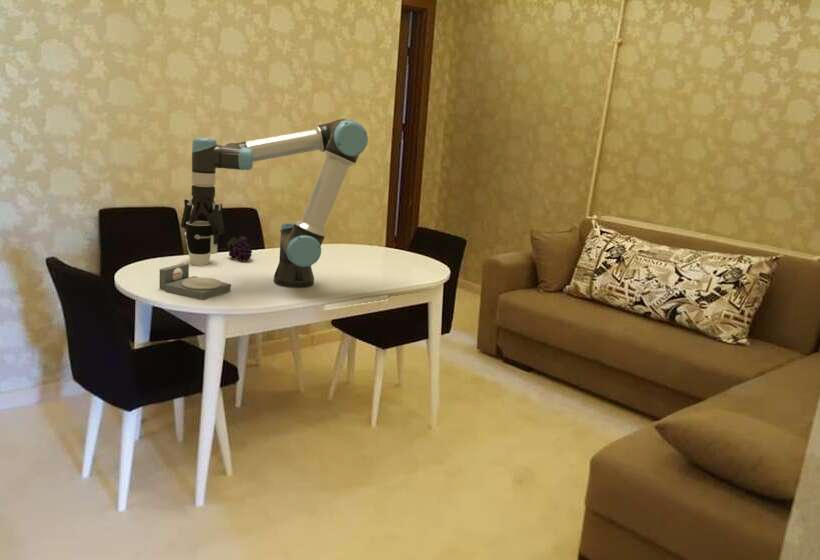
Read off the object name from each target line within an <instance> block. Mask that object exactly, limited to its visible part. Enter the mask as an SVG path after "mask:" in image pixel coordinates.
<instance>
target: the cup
mask: <svg viewBox="0 0 820 560" xmlns="http://www.w3.org/2000/svg"><path fill="white" fill-rule="evenodd" d="M184 236H185V241H186V243H187V239H186V231H185V232H184ZM187 251H188V258H189V261H190V265H193V266H202V267H203V266H207V265H209V262H210V259H211V255H212V254H210V253H208V254H192V253H190V251H189V250H188V249H187Z"/></svg>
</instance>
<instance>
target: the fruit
mask: <svg viewBox="0 0 820 560" xmlns="http://www.w3.org/2000/svg"><path fill="white" fill-rule="evenodd" d="M248 241H249V240H248V238H247V237H246V235H244V236H243V235H240V236H239V237H231V238H230V240H229V241H228V242H226V246H227V251H228V256H229V257H231V259H237V260H238V261H240V262H246V261H247V262H248V260H249V259H251V257H252V253H253V251H252V248H251V245H250V244H249V243H248Z"/></svg>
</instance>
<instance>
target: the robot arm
mask: <svg viewBox="0 0 820 560" xmlns="http://www.w3.org/2000/svg"><path fill="white" fill-rule="evenodd" d="M368 137H369V136H368V133H367V130H366V128H365V127H364V126H363V125H362V124H361V123H360V122H358V121H355V120H353V119H345V118H342V119H341V118H340V119H337V120H333V121H330V122H326V123H322V124H318V125H316V126H315V127H314V128H312V129H307V130H301V131H296V132H295V131H294V132H290V133H284V134H278V135H273V136H266V137H262V138H257V139H251V140H245V141H240V142H239V141H238V142H230V143H227V144H225V145H221V144H220V145H219V144H218V143H217V139H215V138H210V137H195V138H193V139H192V147H191V184H192V185H191V193H190V194H191V196H192V198H188V199H187V198H186V199H183V203H184V204H183V205H184V206H183V207H184V208H183V213H182V218H181V221H180V227H181V228H183V229H185V231H186V222H189V221H190V224H191V223H193V222H194V221H198V217H199V216H200V214H204V216H205V217H206V219H207V222H209V225H211V230H212V233H213V234H212V235H211V244H210V254H211V255H215V254H218V245H219V244H220V243H219V238H220V234H222V235H223V234H225V233H226V231H225V225H224V218H223V204H222V203H216V202H215V197H216V187H215V185H216V171H217V170H216V169H227V170H240V171H250V170H252V169H253V165H254V163H255V162H259V161H266V160H269V159H277V158H280V157H287V156H292V155H298V154H301V153H302V154H303V153H308V152H313V151H319V152H321V153H324V154H325V157H326V158H325V160H324V163H323V164H322V167H321V170H320V173H319V175H318V178H317V180H316V182H315V185H314V187H313V189H312V192H311V194H310V196H309V198H308V201H307V204H306V207H305V209H304V212H303V214H302V216H301V219H299V220H298V221H295V222H283V223H282V224H281V225H280V231H279V232H280V243H279V261H278V265H277V267H276V269H275V273H274V276H273V283H274V284H275V285H278V286H280V287H287V288H296V289H297V288H308V287H311V286H313V285H315V277H314V276H315V275H314V273H313V268H312V265H315V264H316V263H317V262H318V261H319V259H320V257H321V255H322V244H323V241H324V239H325V237H326V233H325V231H324V229H325V226H326V225H327V224H326V223H327V221H328V218H329V217H330V214H331V211H332V209H333V206H334V204H335V202H336V200H337V197H338V195H339V194H340V190H341V188H342V186H343V182H345V181H344V180H345V179H346V175H347V173H348V171H349V168H351V166H352V167H353V166H354V165H356V163H357V160H358V159H359V157H360V154H362V153H363V152H364V151H365V150H366V148H367V145H368V141H369V138H368ZM186 239H187V236H186V237H185V240H186ZM217 244H218V245H217ZM186 249H187V251H188V250H189V249H188V244H187V243H186Z"/></svg>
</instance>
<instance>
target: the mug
mask: <svg viewBox="0 0 820 560" xmlns="http://www.w3.org/2000/svg"><path fill="white" fill-rule="evenodd" d="M185 232H186V236H187V242H186V245H187V244H188V249H189V251H190V253H192V254H208V253H210V244H211V235H212V234H213V233H212V230H211V225H209V222H208V220H207V221H205V220H196V221H194V222H193V223H191V224H190V221H189V222H186V230H185ZM222 239H223V234H220V235H219V244H220V243H221V241H222ZM219 244H217V246H218V245H219ZM188 249H187V250H188Z"/></svg>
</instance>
